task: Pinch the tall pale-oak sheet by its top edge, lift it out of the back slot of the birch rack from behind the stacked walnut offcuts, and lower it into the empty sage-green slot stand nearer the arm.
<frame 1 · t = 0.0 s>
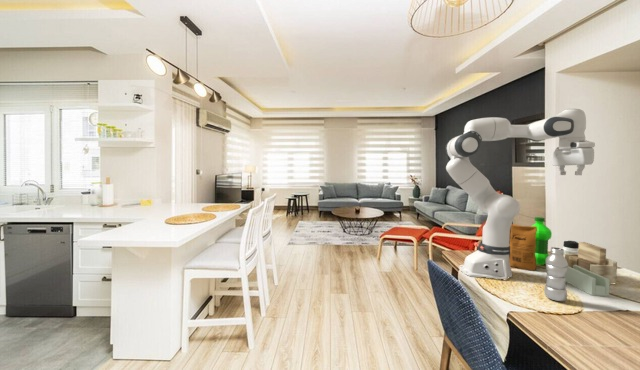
hand: (570, 175, 123), 48 cm above the table, fingers open, 8 cm apart
coffee package: (520, 267, 139), on the table
plastic bottle: (555, 300, 103), on the table
offcut low: (575, 272, 131), resting in rack, touching offcut top
rack: (590, 276, 126), on the table
offcut tall: (586, 278, 124), resting in rack
offcut top: (575, 262, 131), point 5 cm above the table, touching offcut low
plastic bottle 2: (537, 263, 144), on the table
sheet: (591, 260, 126), in the rack
medicine bottle: (570, 263, 145), on the table
stand: (582, 286, 115), on the table
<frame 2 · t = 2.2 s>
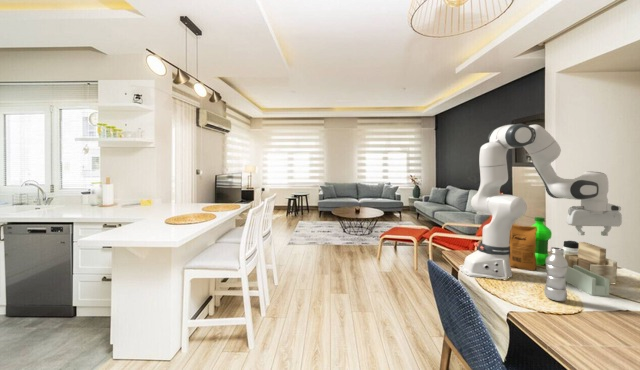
hand: (592, 235, 125), 20 cm above the table, fingers open, 8 cm apart
nothing on the table moved.
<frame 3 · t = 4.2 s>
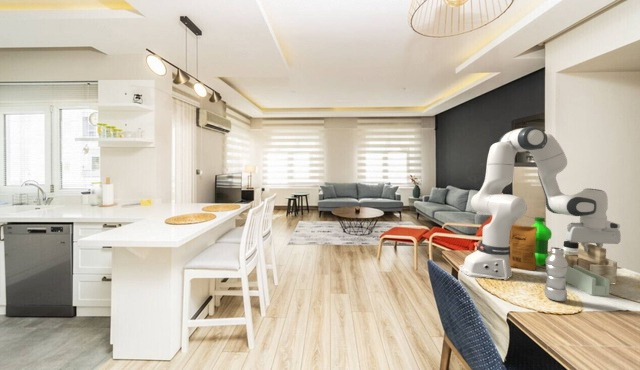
hand: (591, 252, 126), 12 cm above the table, fingers closed on sheet, 2 cm apart
sheet: (591, 260, 126), in the rack, touching gripper
everything else where it was.
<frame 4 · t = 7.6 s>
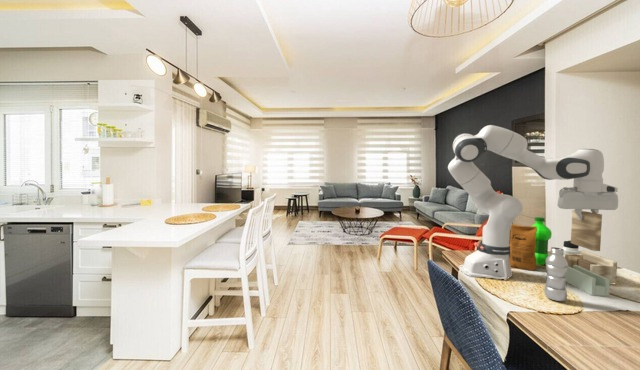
hand: (585, 219, 113), 29 cm above the table, fingers closed on sheet, 2 cm apart
sheet: (585, 229, 114), point 25 cm above the table, touching gripper
everything else where it was.
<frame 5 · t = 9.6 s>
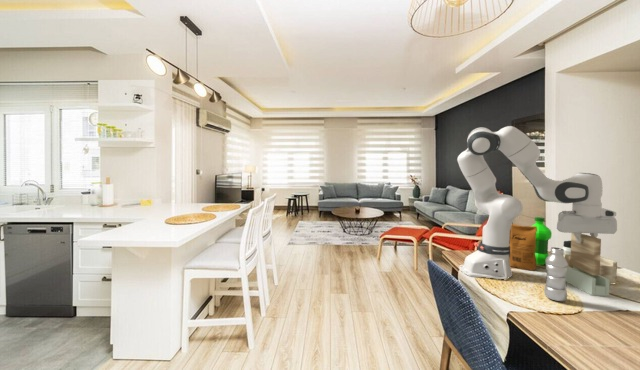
hand: (585, 243, 114), 19 cm above the table, fingers closed on sheet, 2 cm apart
sheet: (584, 252, 114), point 15 cm above the table, touching gripper
everything else where it was.
when the fingers open (14 cm above the table, at t = 11.3 s): sheet drops 1 cm, resting on stand.
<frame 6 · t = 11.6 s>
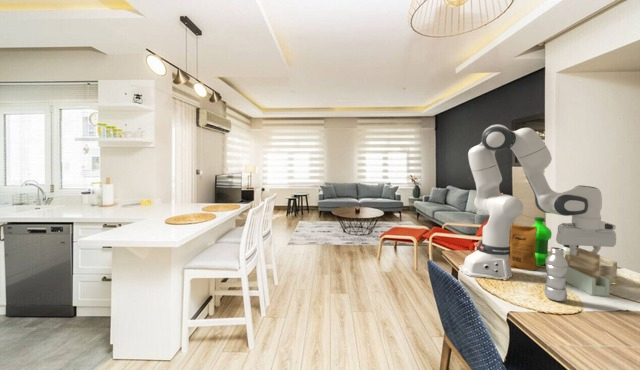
hand: (584, 255, 114), 14 cm above the table, fingers open, 5 cm apart
sheet: (583, 267, 114), point 8 cm above the table, touching stand
everything else where it was.
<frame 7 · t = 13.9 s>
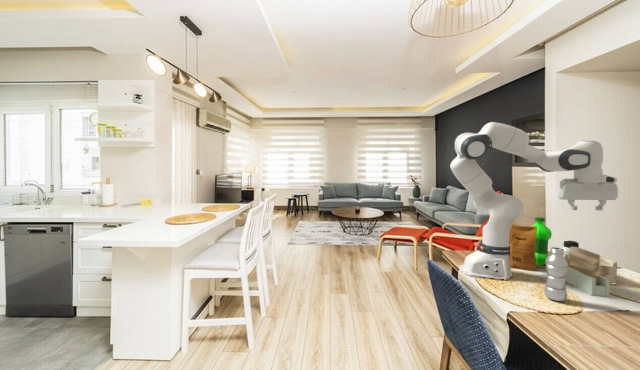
hand: (586, 210, 116), 33 cm above the table, fingers open, 8 cm apart
nothing on the table moved.
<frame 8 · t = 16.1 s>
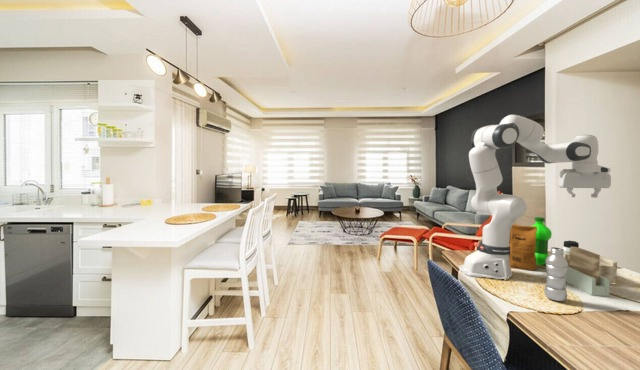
hand: (583, 197, 130), 37 cm above the table, fingers open, 8 cm apart
nothing on the table moved.
at the end: sheet 0.1 cm from the stand (horizontally); sheet tilted 0°; the gripper is holding nothing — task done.
